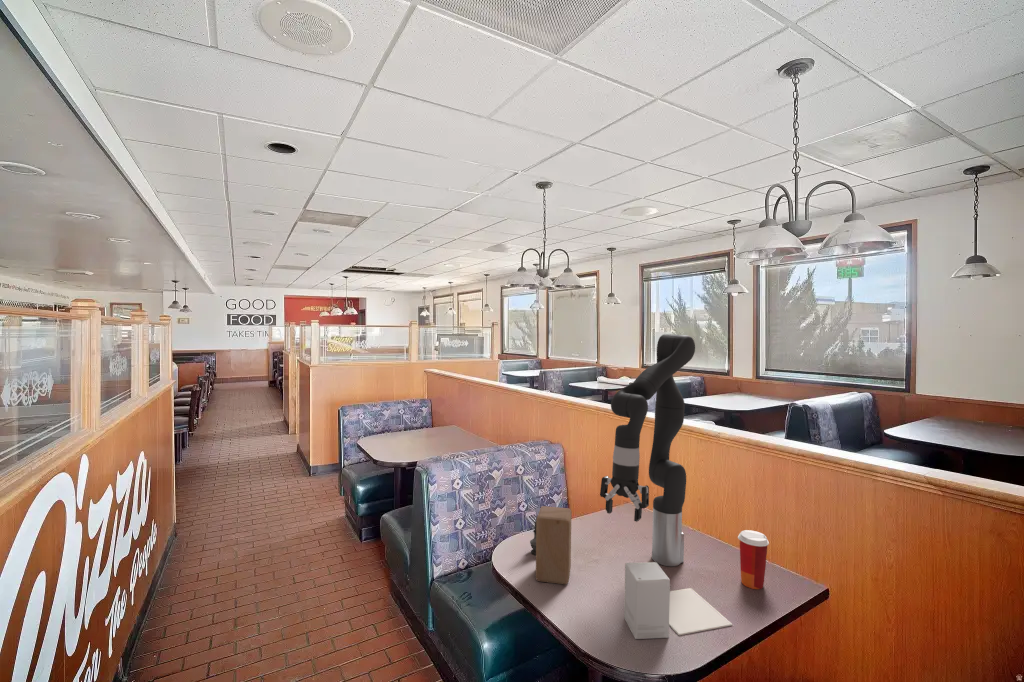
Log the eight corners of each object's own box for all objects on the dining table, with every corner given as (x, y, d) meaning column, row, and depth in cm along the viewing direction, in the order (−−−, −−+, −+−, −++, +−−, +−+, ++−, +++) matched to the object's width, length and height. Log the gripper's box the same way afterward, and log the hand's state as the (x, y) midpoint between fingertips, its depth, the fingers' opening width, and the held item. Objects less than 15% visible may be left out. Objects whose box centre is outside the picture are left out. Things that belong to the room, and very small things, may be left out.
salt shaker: (528, 548, 160) (529, 514, 160) (545, 548, 161) (545, 514, 160) (530, 556, 154) (531, 521, 154) (548, 556, 155) (548, 521, 155)
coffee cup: (764, 579, 142) (766, 531, 142) (770, 594, 134) (771, 543, 134) (734, 574, 145) (736, 527, 144) (738, 588, 137) (739, 538, 137)
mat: (690, 589, 136) (690, 587, 136) (732, 625, 120) (732, 624, 120) (642, 596, 132) (642, 595, 132) (678, 635, 116) (678, 634, 116)
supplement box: (670, 638, 115) (671, 579, 114) (635, 640, 114) (636, 581, 113) (656, 615, 124) (657, 561, 123) (623, 617, 123) (624, 562, 122)
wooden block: (568, 586, 137) (569, 520, 137) (535, 582, 139) (536, 517, 139) (570, 569, 147) (571, 507, 146) (539, 565, 149) (540, 504, 148)
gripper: (654, 464, 133) (651, 520, 133) (609, 454, 142) (606, 507, 142) (644, 469, 128) (641, 527, 127) (598, 458, 136) (594, 513, 136)
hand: (622, 516), depth 135 cm, fingers open, 8 cm apart
